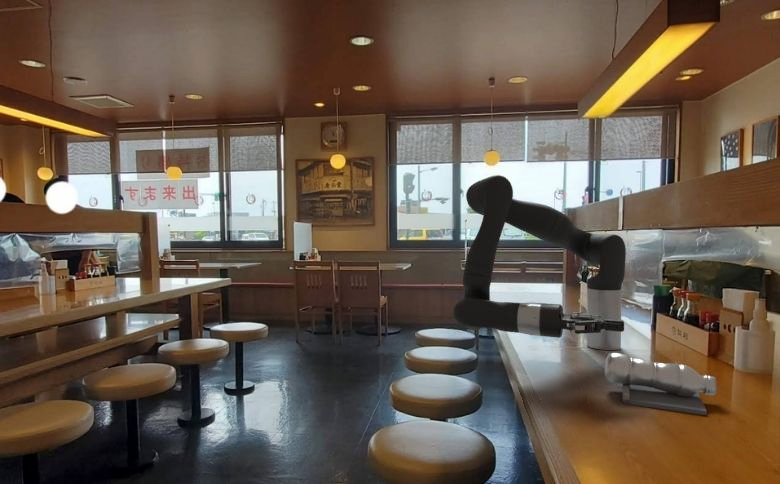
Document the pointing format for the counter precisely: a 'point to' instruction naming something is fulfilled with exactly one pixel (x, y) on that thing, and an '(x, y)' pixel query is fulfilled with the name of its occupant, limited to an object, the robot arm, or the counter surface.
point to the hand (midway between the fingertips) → (624, 326)
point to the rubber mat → (662, 399)
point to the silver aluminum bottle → (657, 375)
